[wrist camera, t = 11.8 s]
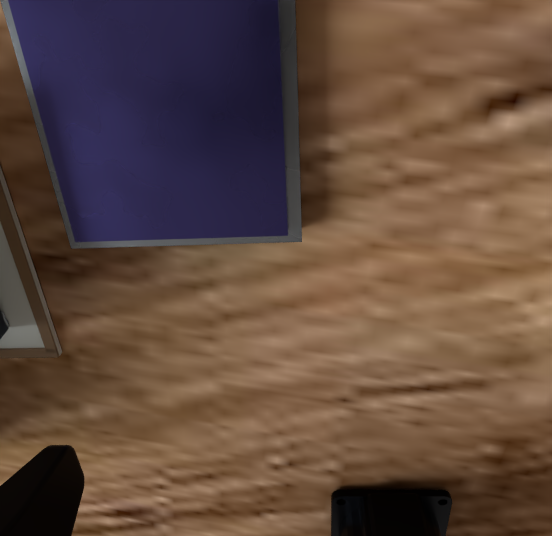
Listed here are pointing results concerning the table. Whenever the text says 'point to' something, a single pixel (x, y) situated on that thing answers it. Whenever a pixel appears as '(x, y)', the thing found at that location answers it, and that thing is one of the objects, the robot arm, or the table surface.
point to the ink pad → (165, 117)
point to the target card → (21, 292)
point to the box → (3, 324)
